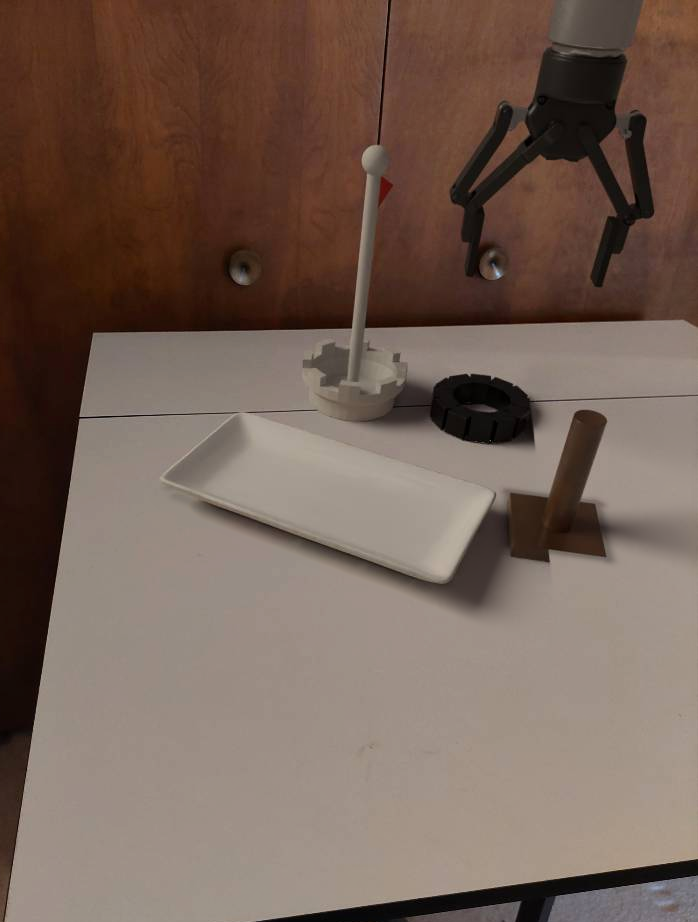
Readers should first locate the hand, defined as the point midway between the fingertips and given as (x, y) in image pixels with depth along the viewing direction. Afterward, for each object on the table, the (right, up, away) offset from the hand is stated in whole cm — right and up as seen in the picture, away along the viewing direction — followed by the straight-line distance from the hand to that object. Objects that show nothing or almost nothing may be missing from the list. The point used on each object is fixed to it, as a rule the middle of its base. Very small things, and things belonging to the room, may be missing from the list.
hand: (531, 277), depth 86 cm
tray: (-22, -25, -2) cm, 34 cm away
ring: (-3, -13, +14) cm, 19 cm away
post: (+1, -28, -4) cm, 28 cm away
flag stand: (-18, -10, +16) cm, 27 cm away
